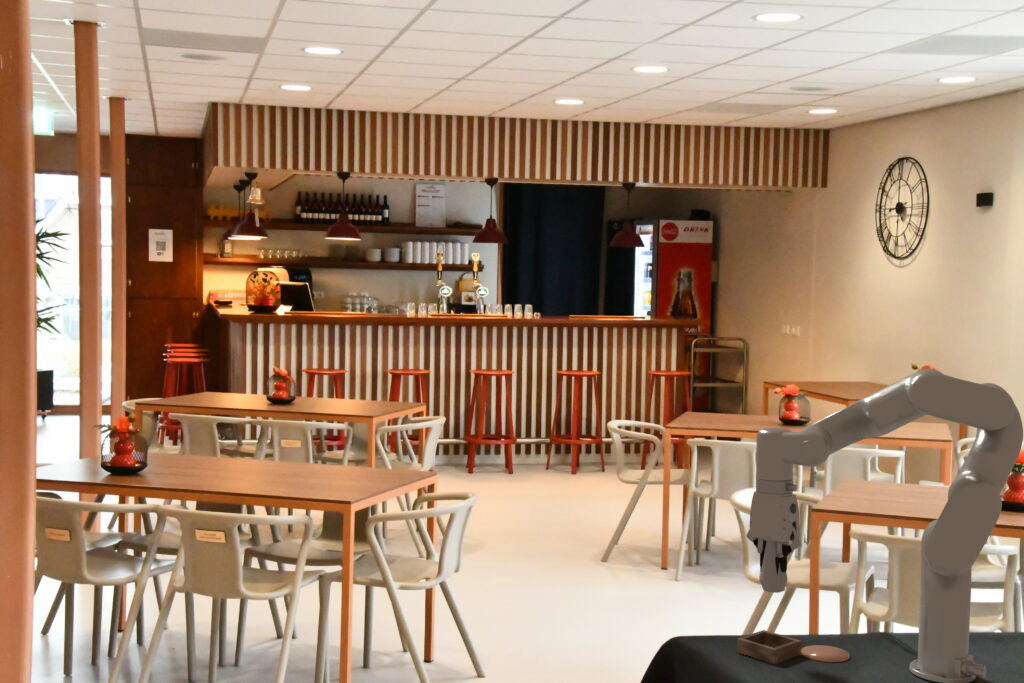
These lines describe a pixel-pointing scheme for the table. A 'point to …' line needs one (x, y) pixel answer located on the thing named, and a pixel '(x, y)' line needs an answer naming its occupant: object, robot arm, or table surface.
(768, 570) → the salt shaker
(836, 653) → the orange round disc
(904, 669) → the table surface
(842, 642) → the table surface
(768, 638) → the square wooden frame
